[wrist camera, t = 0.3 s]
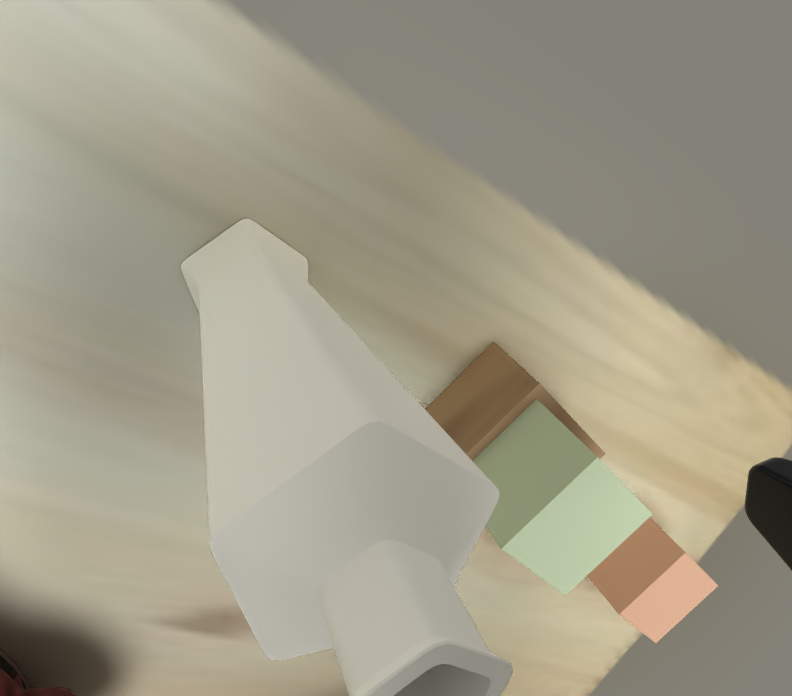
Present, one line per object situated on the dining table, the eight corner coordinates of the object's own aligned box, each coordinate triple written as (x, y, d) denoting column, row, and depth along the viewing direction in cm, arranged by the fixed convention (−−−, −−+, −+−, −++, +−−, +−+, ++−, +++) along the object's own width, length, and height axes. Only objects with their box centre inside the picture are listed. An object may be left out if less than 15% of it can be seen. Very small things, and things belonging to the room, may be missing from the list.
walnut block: (555, 407, 28) (605, 453, 25) (471, 487, 28) (510, 543, 25) (491, 339, 25) (539, 383, 22) (399, 430, 25) (434, 485, 22)
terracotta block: (659, 529, 34) (718, 585, 31) (604, 581, 34) (655, 643, 31) (627, 495, 32) (685, 552, 28) (567, 551, 32) (619, 614, 29)
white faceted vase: (136, 304, 20) (145, 827, 7) (222, 186, 19) (401, 527, 6) (261, 373, 22) (434, 853, 9) (340, 270, 21) (639, 637, 9)
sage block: (590, 454, 24) (652, 514, 22) (513, 527, 25) (565, 596, 22) (536, 398, 22) (597, 456, 19) (453, 479, 23) (501, 548, 20)
